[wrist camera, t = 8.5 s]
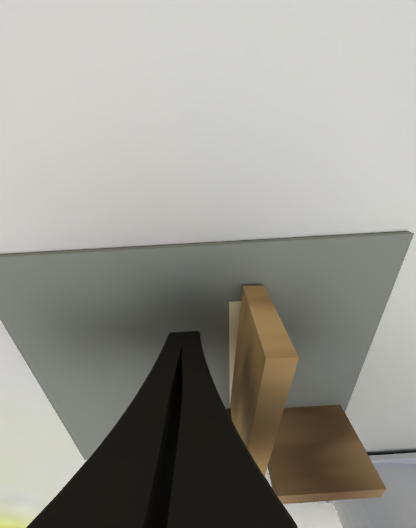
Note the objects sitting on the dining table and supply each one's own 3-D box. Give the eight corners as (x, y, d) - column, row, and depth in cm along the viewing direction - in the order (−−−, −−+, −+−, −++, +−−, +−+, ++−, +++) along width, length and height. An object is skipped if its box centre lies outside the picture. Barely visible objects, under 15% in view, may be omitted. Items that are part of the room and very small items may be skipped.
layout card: (408, 231, 10) (415, 234, 10) (330, 438, 18) (333, 444, 17) (-30, 256, 10) (-39, 260, 9) (86, 454, 17) (84, 461, 17)
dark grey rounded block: (341, 400, 15) (406, 513, 10) (335, 417, 16) (392, 529, 11) (220, 407, 15) (230, 525, 10) (221, 424, 16) (230, 540, 11)
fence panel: (245, 404, 14) (260, 489, 11) (230, 405, 14) (240, 489, 11) (264, 285, 10) (299, 357, 7) (242, 285, 10) (266, 358, 7)
